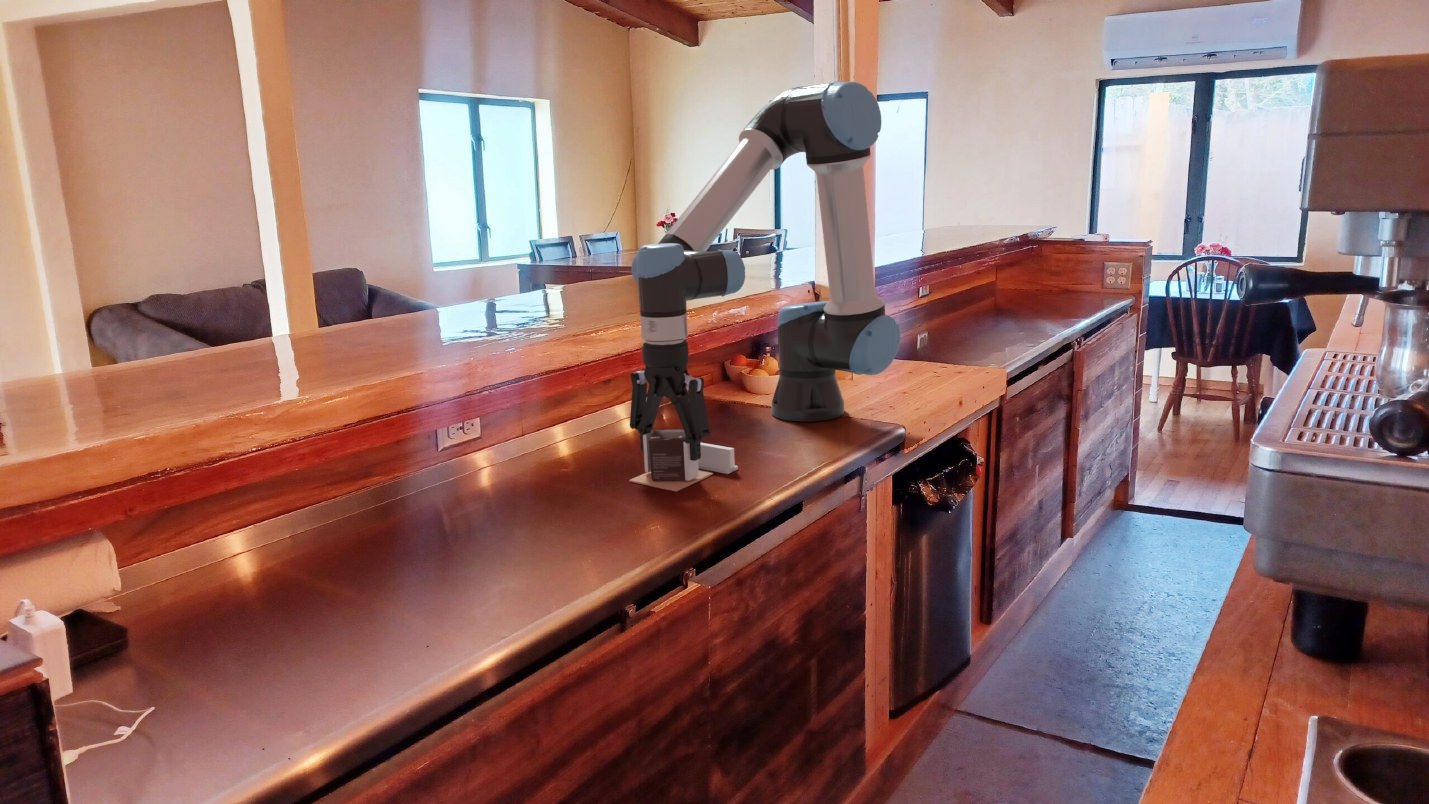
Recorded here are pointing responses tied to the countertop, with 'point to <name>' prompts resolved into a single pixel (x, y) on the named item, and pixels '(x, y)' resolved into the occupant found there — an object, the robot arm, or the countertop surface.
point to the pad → (669, 481)
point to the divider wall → (717, 458)
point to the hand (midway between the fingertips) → (671, 473)
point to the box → (667, 455)
